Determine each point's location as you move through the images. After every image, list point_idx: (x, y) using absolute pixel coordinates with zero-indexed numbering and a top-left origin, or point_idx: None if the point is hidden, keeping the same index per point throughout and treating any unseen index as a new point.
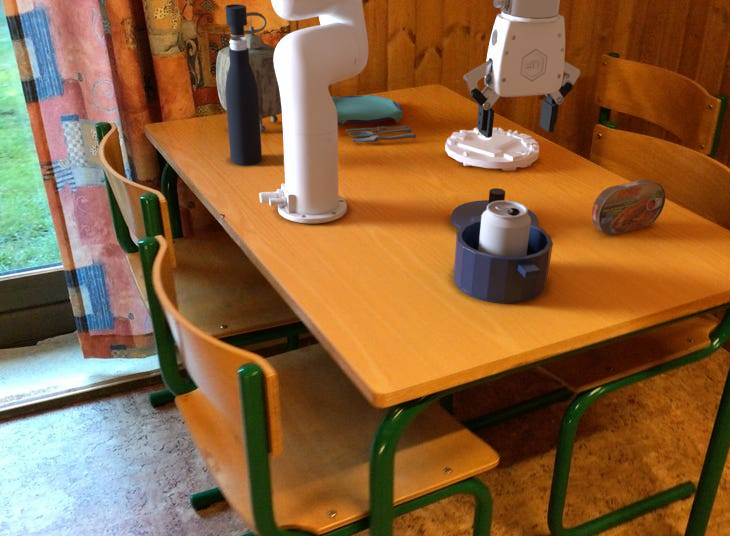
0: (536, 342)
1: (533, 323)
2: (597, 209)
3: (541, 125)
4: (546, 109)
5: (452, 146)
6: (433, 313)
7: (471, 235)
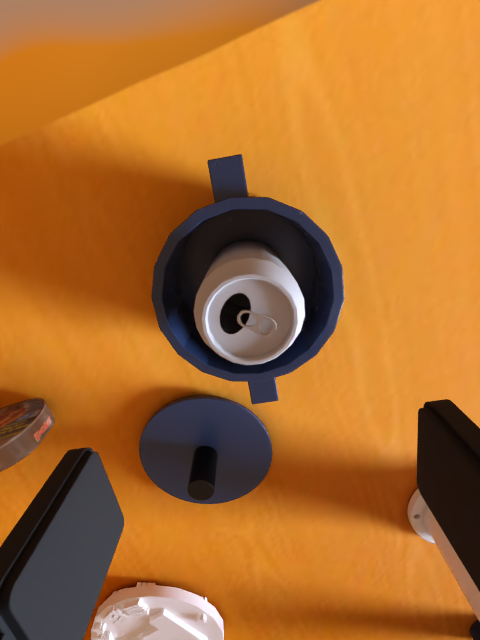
0: (242, 48)
1: (228, 122)
2: (36, 428)
3: (117, 513)
4: (62, 595)
5: (215, 638)
6: (387, 178)
7: (289, 350)
